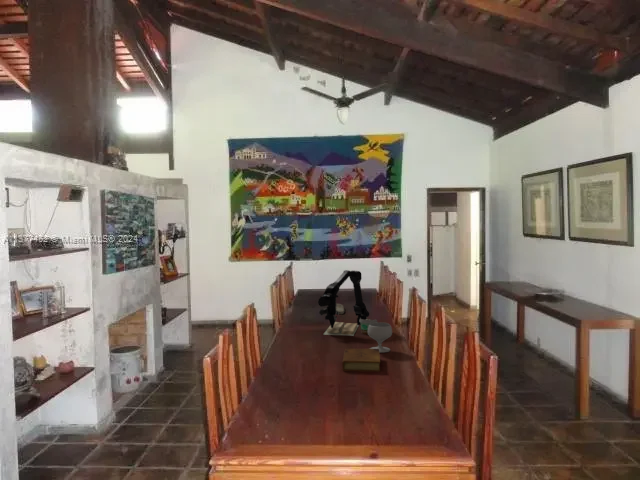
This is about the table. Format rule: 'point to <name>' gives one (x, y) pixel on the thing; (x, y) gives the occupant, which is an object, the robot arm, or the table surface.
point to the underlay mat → (340, 332)
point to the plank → (336, 327)
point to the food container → (366, 325)
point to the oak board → (349, 328)
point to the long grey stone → (340, 308)
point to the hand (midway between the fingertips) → (332, 327)
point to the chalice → (380, 334)
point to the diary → (361, 360)
